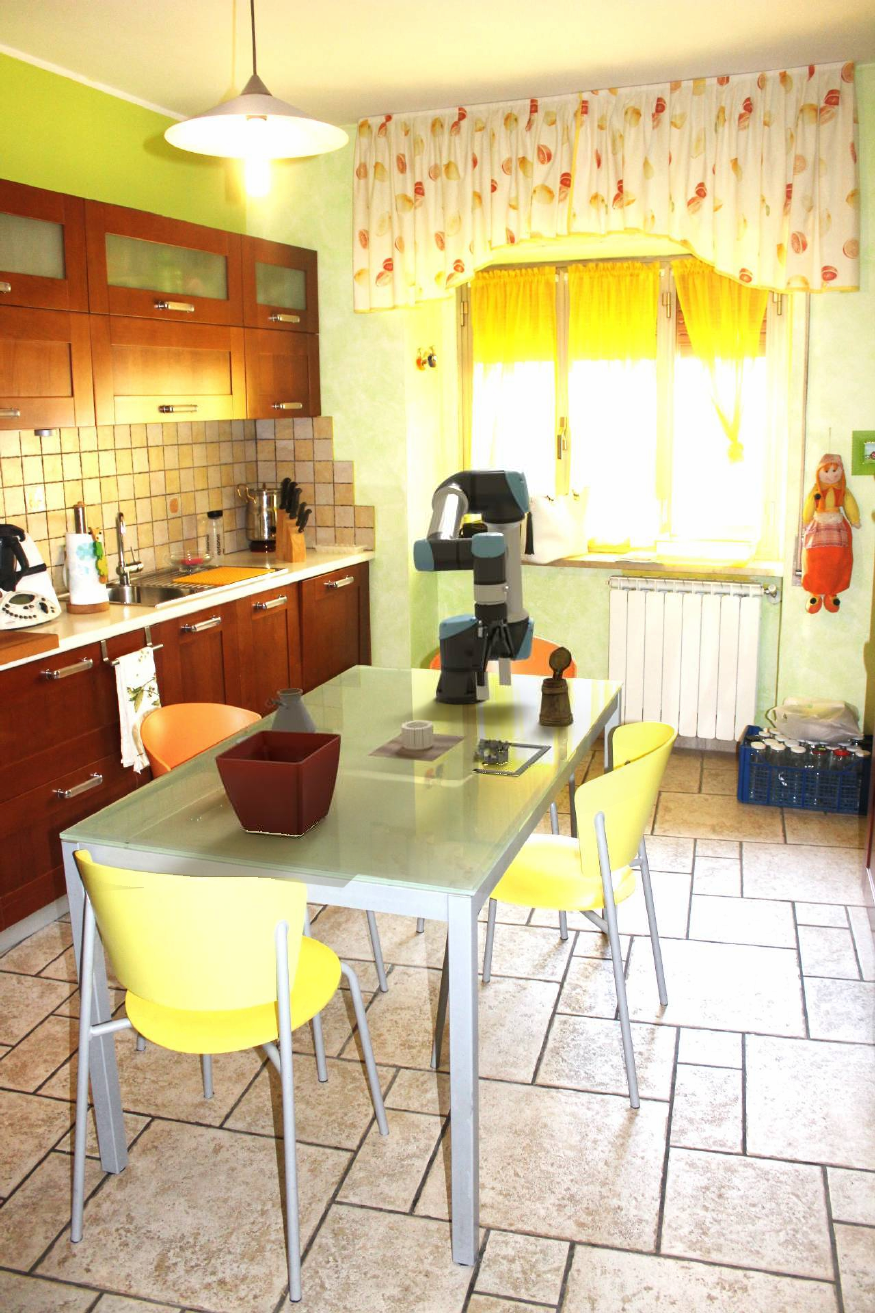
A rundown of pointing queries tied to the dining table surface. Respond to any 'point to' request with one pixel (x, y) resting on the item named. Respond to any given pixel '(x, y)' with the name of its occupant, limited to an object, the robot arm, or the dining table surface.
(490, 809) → the dining table surface
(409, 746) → the cream hollow cylinder
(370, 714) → the dining table surface
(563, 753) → the dining table surface
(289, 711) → the coffee pot
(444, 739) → the walnut board
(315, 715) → the dining table surface
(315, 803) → the plant pot
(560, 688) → the wooden mug
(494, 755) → the egg carton
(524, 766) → the mat border
